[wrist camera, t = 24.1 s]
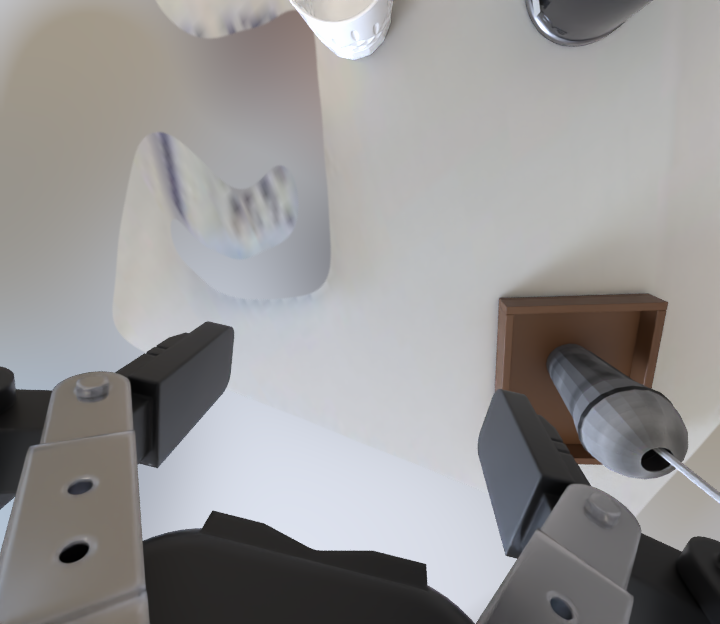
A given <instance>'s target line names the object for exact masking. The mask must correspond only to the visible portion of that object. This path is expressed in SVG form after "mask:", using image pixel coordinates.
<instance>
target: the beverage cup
mask: <svg viewBox="0 0 720 624" xmlns="http://www.w3.org/2000/svg"><path fill="white" fill-rule="evenodd" d="M546 366H547V370H548V372H549V374H550V377H551V379H552V381H553V383H554V385H555V386H556V388H557V390H558V392H559V394H560V396H561V397H562V399H563V401H564V403H565V405H566V406H567V408H568V410H569V412H570V414H571V416H572V417H573V419H574V424H575V427H576V430H577V432H578V436H579V440H580V442H581V443H582V445H583V447H584V449H585V450H586V451H588V452H589V453H590V454H591V455H592V456H593V457H595V458H596V459H597V460H598V461H599V462H600V463H602V464H603V465H604V466H605V467H607V468H608V469H610V470H612V471H614V472H617V473H619V474H622V475H624V476H627V477H632V478H640V479H650V478H658V477H661V476H664V475H666V474H669V473H670V472H672V471H673V470H675V469H678V470H679V471H680V472H681V473H683V474H684V475H685V476H686V477H688V478H689V479H690V480H691V481H692V482H694V483H695V484H696V485H697V486H699V487H700V488H701V489H702V490H704V491H705V492H706V493H707V494H708V495H710V496H711V497H712V498H713V499H715V500H716V501H717V502H718V503H719V504H720V492H718V491H717V490H716V489H714V488H713V487H712V486H710V485H709V484H708V483H707V482H706V481H704V480H703V479H702V478H700V477H699V476H698V475H697V474H695V473H694V472H693V471H691V470H690V469H689V468H688V467H686V466H685V465H684V464H683V463H681V462H682V461H683V460H684V457H685V455H686V453H687V449H688V432H687V429H686V427H685V424H684V422H683V420H682V418H681V416H680V414H679V413H678V411H677V410H676V409H675V408H674V406H673V404H672V403H671V401H669V400H668V399H667V398H666V397H665V396H664V395H663V394H662V393H660V392H658V391H655V390H653V389H651V388H649V387H646V386H644V385H642V384H640V383H638V382H635V381H634V380H632V379H631V378H629V377H628V376H626V375H625V374H623V373H622V372H620V371H619V370H617V369H616V368H615V367H613V366H612V365H610V364H609V363H607V362H606V361H604V360H603V359H601V358H600V357H598V356H597V355H595V354H594V353H592V352H591V351H588V350H587V349H585V348H583V347H582V346H580V345H577V344H565V345H561V346H559V347H557V348H555V349H554V350H553V351H552V352H551V353H550V355H549V356H548V358H547V362H546Z"/></svg>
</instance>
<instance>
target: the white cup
mask: <svg viewBox="0 0 720 624" xmlns="http://www.w3.org/2000/svg"><path fill="white" fill-rule="evenodd" d="M289 1H290V2H291V3H292V5H293V6H294V7H295V8H296V10H297V11H298V12H299V14H300V15H301V16H302V18H303V19H304V20H305V22H306V23H307V24H308V26H309V27H310V28H311V29H312V31H313V32H314V33H315V34H316V36H317V37H318V38H319V39H320V40H321V41H322V42H323V43H324V44H325V46H326V47H328V48H329V49H330V50H331V51H332V52H334V53H335V54H336V55H337V56H338V57H343V58H348V59H353V60H356V59H359V58H362V57H365V56H368V55H371V54H372V53H373V52H374V51H375V50H376V49H377V48H378V47H379V46H380V45H381V44H382V43H383V41H384V39H385V37H386V34H387V31H388V29H389V26H390V24H391V11H392V6H393V0H289Z"/></svg>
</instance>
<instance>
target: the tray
mask: <svg viewBox="0 0 720 624" xmlns="http://www.w3.org/2000/svg"><path fill="white" fill-rule="evenodd" d="M667 306H668V302H666V301H664V300H662V299H659V298H657V297H655V296H653V295H650V294H619V295H587V296H555V297H523V298H499V315H498V335H497V356H496V376H495V392H496V390H498V389H503V390H507V391H511V392H516V393H520V394H524V395H526V396H527V398H528V400H529V401H530V403H531V405H532V407H533V408H534V410H535V412H536V414H537V415H541V416H542V417H544V418H545V419H546V420H547V421H548V422H549V423H550V424H551V425H552V426H554V427H555V428H556V430H557V432H558V433H559V435H560V436H561V438H562V440H563V443H564V444H565V445H566V446H567V448H568V449H569V451H570V454H571V455H572V456H573V458H574V459H575V461H576V462H577V464H596V465H603V464H602V463H600V462H599V461H598V460H597V459H596V458H595V457H593V456H592V455H591V454H590V453H589V452H588V451H586V450H585V449H584V447H583V445H582V443H581V442H580V440H579V436H578V432H577V430H576V427H575V424H574V419H573V417H572V416H571V414H570V412H569V410H568V408H567V406H566V405H565V403H564V401H563V399H562V397H561V396H560V394H559V392H558V390H557V388H556V386H555V385H554V383H553V381H552V379H551V377H550V374H549V372H548V370H547V366H546V362H547V358H548V356H549V355H550V353H551V352H552V351H553V350H554V349H555V348H557V347H559V346H561V345H565V344H577V345H580V346H582V347H583V348H585V349H587V350H588V351H591V352H592V353H594V354H595V355H597V356H598V357H600V358H601V359H603V360H604V361H606V362H607V363H609V364H610V365H612V366H613V367H615V368H616V369H617V370H619V371H620V372H622V373H623V374H625V375H626V376H628V377H629V378H631V379H632V380H634V381H635V382H638V383H640V384H642V385H644V386H646V387H649V388H652V383H653V378H654V373H655V367H656V362H657V357H658V352H659V347H660V342H661V336H662V331H663V326H664V321H665V316H666V310H667Z"/></svg>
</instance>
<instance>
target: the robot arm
mask: <svg viewBox="0 0 720 624" xmlns="http://www.w3.org/2000/svg"><path fill="white" fill-rule="evenodd" d="M652 1H653V0H526V5H527V9H528V13H529V15H530V18H531V20H532V22H533V24H534V25H535V27H536V28H537V29H538V31H539V32H540V33H541V34H542V35H543V36H545V37H546V38H547V39H549V40H551V41H552V42H555V43H557V44H560V45H565V46H582V45H587V44H591V43H593V42H596V41H598V40H600V39H602V38H604V37H606V36H607V35H609V34H610V33H612V32H613V31H614V30H616V29H617V28H618V27H620V26H621V25H622V24H623V23H624V22H625V21H626V20H627V19H628V18H630V17H631V16H633V15H634V14H635V13H637V12H638V11H640V10H641V9H642V8H644V7H645V6H646V5H648V4H649V3H650V2H652ZM233 342H234V330H233V328H232V327H230V326H226V325H222V324H217V323H213V322H205V323H204V324H202V325H201V326H199V327H198V328H196V329H195V330H193V331H192V332H190V333H183V334H180V335H176V336H173V337H170V338H168V339H166V340H165V341H163V342H161V343H160V344H158V345H157V347H154V348H152V349H151V350H149V351H148V352H147V353H146V354H143V355H141V356H140V357H139V358H137V359H135V360H134V361H132V362H131V363H129V364H128V365H126V366H124V367H123V368H121V369H120V370H118V371H117V372H115V373H113V372H88V373H83V374H79V375H75V376H72V377H70V378H67V379H65V380H63V381H62V382H60V383H59V384H57V385H56V386H55V387H54V389H53V391H49V390H19V389H18V390H17V389H16V388H15V380H14V374H13V372H12V371H10V370H9V369H7V368H4V367H0V509H1V508H3V507H4V505H6V504H7V503H8V502H9V501H11V500H12V499H13V498H14V497H15V500H14V503H13V507H12V511H11V515H10V518H9V522H8V526H7V530H6V534H5V537H4V541H3V545H2V549H1V552H0V624H475V623H474V622H473V621H472V620H471V619H470V618H469V617H468V616H467V615H466V614H465V613H464V612H463V611H462V610H461V609H460V608H459V607H458V606H457V605H455V604H454V603H453V602H452V601H450V600H449V599H448V598H447V597H445V596H444V595H442V594H440V593H439V592H438V591H436V590H435V589H433V588H431V587H430V586H428V585H427V571H426V564H423V563H419V562H415V561H411V560H407V559H403V558H399V557H395V556H391V555H387V554H383V553H380V552H376V551H319V550H313V549H311V548H309V547H307V546H305V545H303V544H301V543H299V542H298V541H296V540H294V539H292V538H290V537H288V536H286V535H284V534H283V533H281V532H279V531H277V530H275V529H273V528H271V527H270V526H268V525H266V524H264V523H260V522H255V521H252V520H248V519H244V518H240V517H236V516H232V515H228V514H224V513H220V512H216V511H212V513H211V514H210V516H209V518H208V519H207V521H206V522H205V524H204V526H203V528H200V529H199V528H195V529H185V530H178V531H173V532H169V533H165V534H161V535H158V536H155V537H152V538H149V539H147V540H144V541H142V528H141V512H140V497H139V483H138V468H137V465H138V464H144V465H148V466H152V467H156V468H158V467H159V466H160V465H161V463H162V462H163V461H164V460H165V459H166V458H167V457H168V456H169V454H170V453H171V452H172V451H173V450H174V449H175V447H176V446H177V445H178V444H179V443H180V442H181V441H182V439H183V438H184V437H185V436H186V435H187V434H188V433H189V431H190V430H191V429H192V428H193V427H194V426H195V425H196V423H197V422H198V421H199V420H200V419H201V418H202V417H203V415H204V414H205V413H206V412H207V411H208V410H209V409H210V407H211V406H212V405H213V404H214V403H215V402H216V400H217V399H218V398H219V397H220V396H221V395H222V394H223V392H224V391H225V389H226V387H227V385H228V382H229V379H230V374H231V364H232V353H233ZM478 455H479V459H480V462H481V466H482V470H483V474H484V477H485V481H486V485H487V488H488V492H489V496H490V499H491V503H492V506H493V510H494V514H495V517H496V521H497V525H498V528H499V532H500V536H501V540H502V543H503V547H504V551H505V555H506V556H509V557H513V558H517V560H516V562H515V564H514V565H513V567H512V568H511V570H510V571H509V573H508V575H507V576H506V578H505V579H504V581H503V582H502V584H501V585H500V587H499V589H498V590H497V592H496V593H495V595H494V596H493V598H492V600H491V601H490V603H489V604H488V606H487V607H486V609H485V610H484V612H483V613H482V615H481V616H480V618H479V620H478V621H477V623H476V624H720V542H718V541H716V540H713V539H710V538H706V537H699V536H698V537H693V538H691V539H690V541H689V542H688V544H687V545H686V547H685V548H684V550H683V551H682V552H681V551H679V550H677V549H674V548H673V547H670V546H668V545H666V544H664V543H662V542H659V541H657V540H655V539H653V538H651V537H648V536H646V535H644V534H642V533H641V528H640V525H639V523H638V521H637V520H636V518H635V517H634V515H633V514H632V513H631V512H630V511H629V510H628V509H627V508H626V507H625V506H624V505H623V504H622V503H620V502H619V501H618V500H616V499H615V498H614V497H612V496H610V495H609V494H607V493H605V492H603V491H602V490H599V489H597V488H595V487H592V486H591V485H590V483H589V482H588V480H587V479H586V477H585V475H584V474H583V472H582V471H581V469H580V467H579V466H578V464H577V462H576V461H575V459H574V458H573V456H572V455H571V454H570V451H569V449H568V448H567V446H566V445H565V444H564V443H563V440H562V438H561V436H560V435H559V433H558V432H557V430H556V428H555V427H554V426H552V425H551V424H550V423H549V422H548V421H547V420H546V419H545V418H544V417H542V416H541V415H537V414H536V412H535V410H534V408H533V407H532V405H531V403H530V401H529V400H528V398H527V396H526V395H524V394H520V393H516V392H511V391H507V390H503V389H498V390H496V392H495V393H494V395H493V398H492V401H491V403H490V406H489V409H488V412H487V414H486V417H485V420H484V423H483V425H482V428H481V431H480V434H479V439H478Z"/></svg>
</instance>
